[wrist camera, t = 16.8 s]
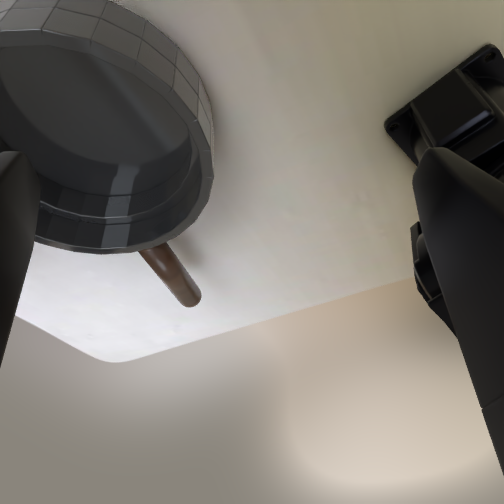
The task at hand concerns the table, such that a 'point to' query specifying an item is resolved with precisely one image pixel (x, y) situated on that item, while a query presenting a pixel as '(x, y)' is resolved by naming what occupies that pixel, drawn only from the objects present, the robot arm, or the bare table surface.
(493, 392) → the robot arm
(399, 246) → the table surface
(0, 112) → the pan
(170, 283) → the pan handle
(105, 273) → the table surface
